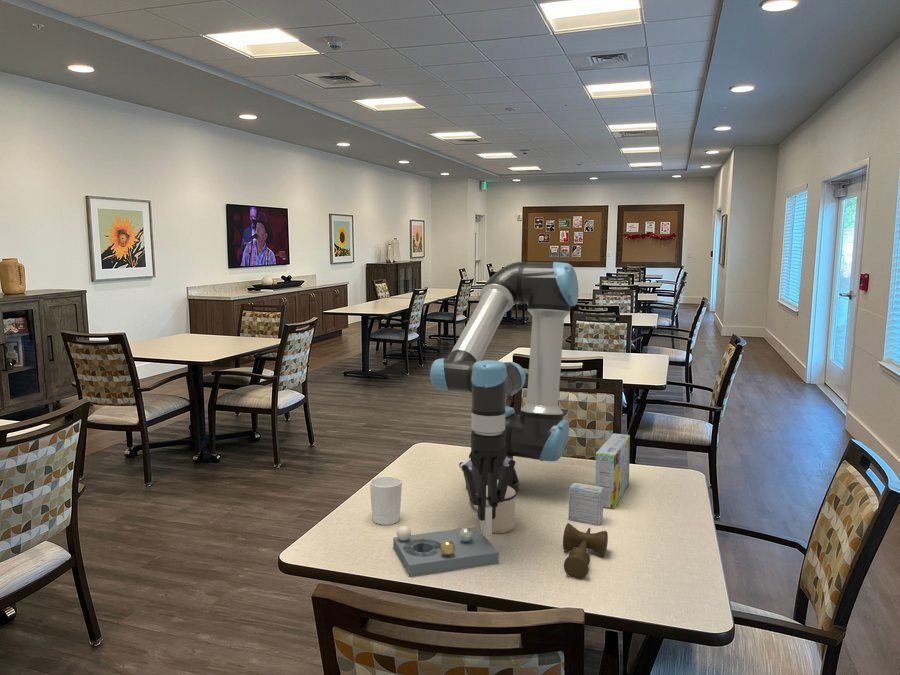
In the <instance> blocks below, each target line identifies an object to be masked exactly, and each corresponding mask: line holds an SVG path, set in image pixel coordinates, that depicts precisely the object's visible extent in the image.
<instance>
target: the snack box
mask: <svg viewBox="0 0 900 675" xmlns="http://www.w3.org/2000/svg"><path fill="white" fill-rule="evenodd" d="M630 439H631V436H630V434H623V433H612V434H611V435H610V437H608V438H607V439H606V440H605V442H604V443H603V444H602V445H601V446H600V448H599V449H598V450H597V451H596V452H595V485H594V486H599V487H603V488H604V493H603V509H610V510H615V507H616V506H617V504H618V502H620V499H621V497H622V496H623V495H624V493H625V491H626V490H627V488H628V487H629V485H630V455H631V454H630V453H631V452H630V450H631V448H630V447H631V445H630V444H631V440H630Z"/></svg>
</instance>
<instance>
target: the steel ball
mask: <svg viewBox="0 0 900 675" xmlns="http://www.w3.org/2000/svg"><path fill="white" fill-rule="evenodd" d="M460 529H461V528H460ZM459 538H460V539H461V541H463V542H470V541H471V540H472V538H473V532H472V530H471V529H470V528H469V527H468V526H467V527H462V529H461V530H460V532H459Z"/></svg>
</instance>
